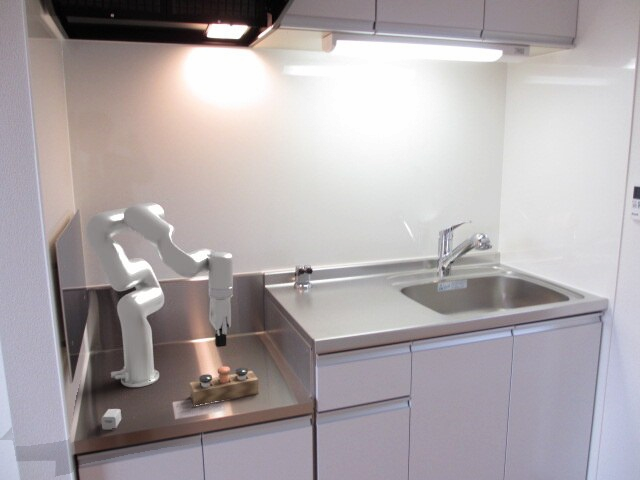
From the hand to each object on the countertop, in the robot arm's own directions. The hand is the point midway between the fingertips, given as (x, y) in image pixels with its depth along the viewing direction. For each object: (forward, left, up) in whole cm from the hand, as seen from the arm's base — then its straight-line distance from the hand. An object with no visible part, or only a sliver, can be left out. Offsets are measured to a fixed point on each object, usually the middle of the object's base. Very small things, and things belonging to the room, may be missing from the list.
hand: (220, 345), depth 165 cm
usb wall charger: (-34, -3, -18) cm, 38 cm away
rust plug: (+1, -1, -15) cm, 15 cm away
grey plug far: (+7, -1, -17) cm, 18 cm away
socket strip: (+1, -1, -17) cm, 17 cm away
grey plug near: (-5, -1, -17) cm, 17 cm away
